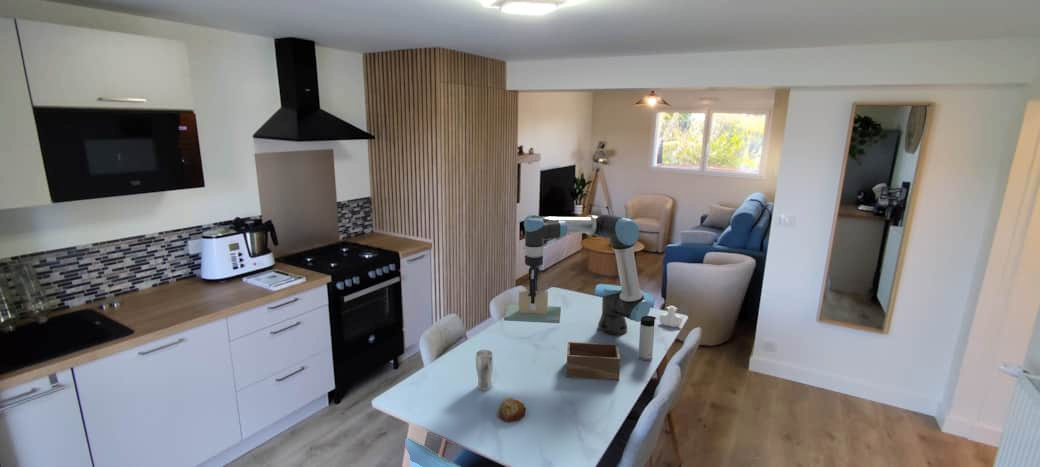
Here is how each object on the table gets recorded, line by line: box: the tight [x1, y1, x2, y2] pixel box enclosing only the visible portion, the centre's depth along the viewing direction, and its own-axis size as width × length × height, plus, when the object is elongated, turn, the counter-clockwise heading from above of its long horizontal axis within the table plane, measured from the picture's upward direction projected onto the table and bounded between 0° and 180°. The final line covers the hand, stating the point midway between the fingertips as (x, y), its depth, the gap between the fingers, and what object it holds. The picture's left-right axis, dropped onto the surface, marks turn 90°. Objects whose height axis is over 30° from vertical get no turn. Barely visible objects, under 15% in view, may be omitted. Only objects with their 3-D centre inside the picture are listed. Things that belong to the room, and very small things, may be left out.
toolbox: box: [566, 341, 621, 382], centre depth 210 cm, size 14×22×10 cm, turn 83°
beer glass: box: [475, 349, 494, 392], centre depth 196 cm, size 7×7×15 cm
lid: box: [503, 289, 562, 324], centre depth 206 cm, size 15×23×10 cm, turn 83°
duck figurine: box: [658, 305, 683, 328], centre depth 261 cm, size 12×8×11 cm
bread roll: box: [497, 397, 527, 423], centre depth 179 cm, size 10×10×8 cm
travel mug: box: [638, 315, 657, 361], centre depth 222 cm, size 6×7×20 cm
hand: (533, 308), depth 206 cm, fingers closed on lid, 3 cm apart
